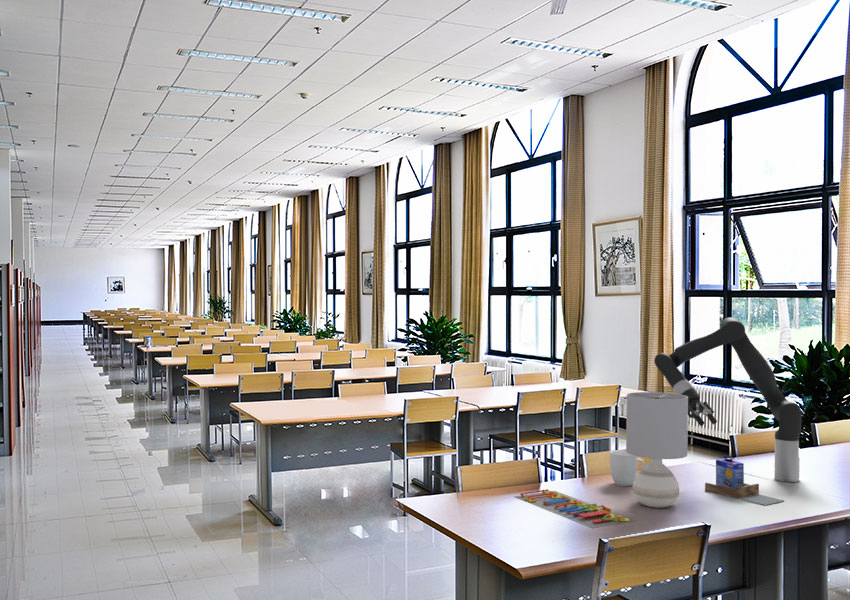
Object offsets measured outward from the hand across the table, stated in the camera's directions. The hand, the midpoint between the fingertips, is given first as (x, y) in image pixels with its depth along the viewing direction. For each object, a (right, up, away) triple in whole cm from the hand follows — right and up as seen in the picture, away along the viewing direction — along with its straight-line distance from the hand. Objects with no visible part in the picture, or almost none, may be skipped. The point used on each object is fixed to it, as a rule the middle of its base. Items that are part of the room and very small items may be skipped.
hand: (709, 424), depth 314 cm
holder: (+4, -25, -11) cm, 28 cm away
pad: (+11, -25, -24) cm, 37 cm away
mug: (-34, -25, 0) cm, 42 cm away
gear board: (-64, -25, -37) cm, 78 cm away
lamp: (-32, -25, -32) cm, 51 cm away
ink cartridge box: (+4, -25, -11) cm, 28 cm away
